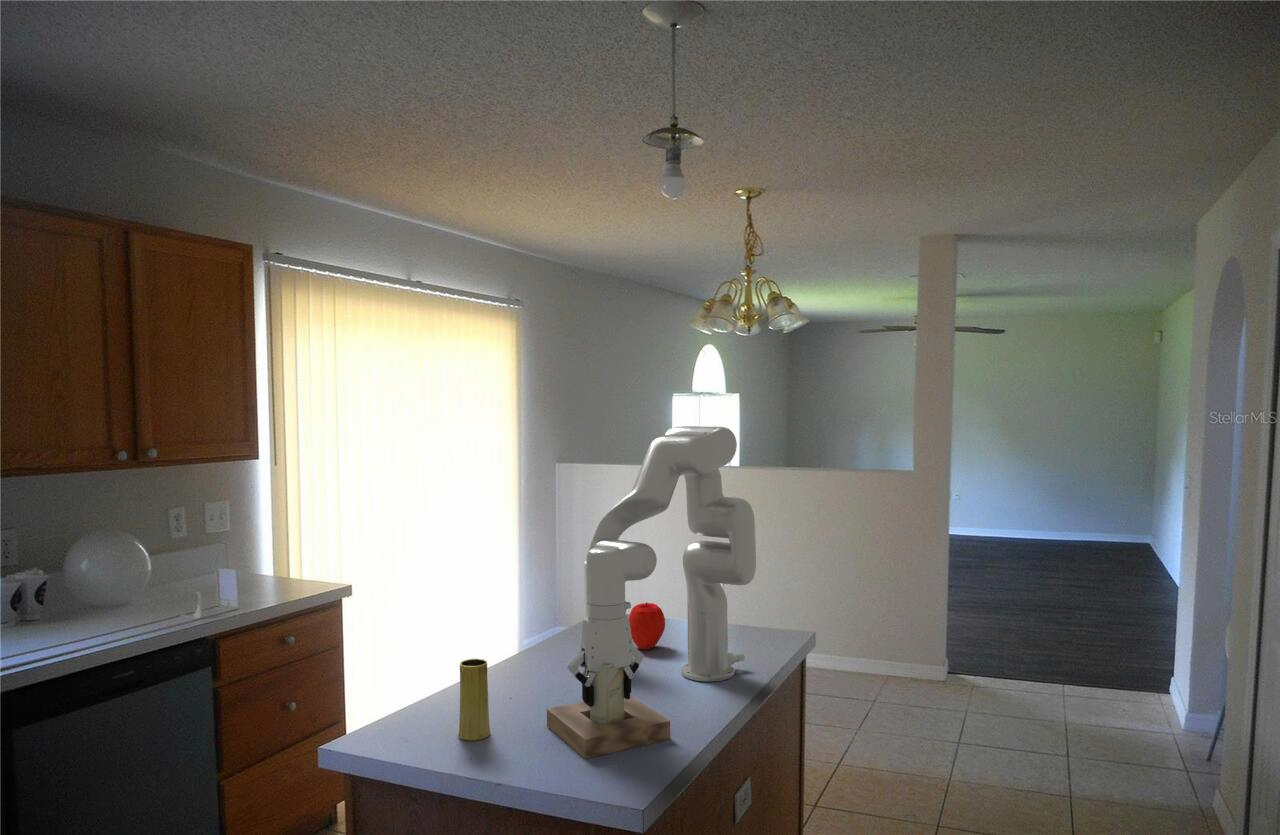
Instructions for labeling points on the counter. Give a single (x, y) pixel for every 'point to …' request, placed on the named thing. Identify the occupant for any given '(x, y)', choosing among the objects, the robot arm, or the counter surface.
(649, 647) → the apple
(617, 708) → the skincare box
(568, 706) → the docking block
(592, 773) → the counter surface
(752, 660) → the counter surface
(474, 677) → the vase
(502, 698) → the counter surface
